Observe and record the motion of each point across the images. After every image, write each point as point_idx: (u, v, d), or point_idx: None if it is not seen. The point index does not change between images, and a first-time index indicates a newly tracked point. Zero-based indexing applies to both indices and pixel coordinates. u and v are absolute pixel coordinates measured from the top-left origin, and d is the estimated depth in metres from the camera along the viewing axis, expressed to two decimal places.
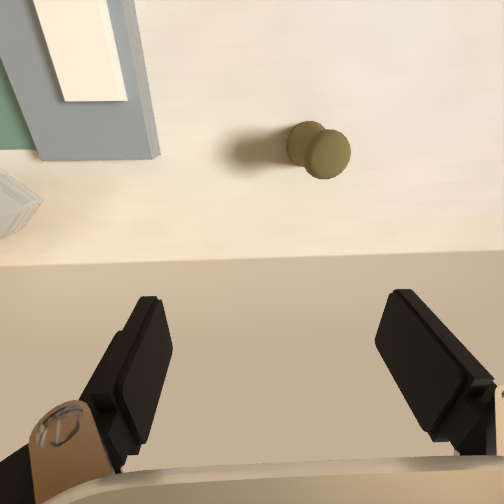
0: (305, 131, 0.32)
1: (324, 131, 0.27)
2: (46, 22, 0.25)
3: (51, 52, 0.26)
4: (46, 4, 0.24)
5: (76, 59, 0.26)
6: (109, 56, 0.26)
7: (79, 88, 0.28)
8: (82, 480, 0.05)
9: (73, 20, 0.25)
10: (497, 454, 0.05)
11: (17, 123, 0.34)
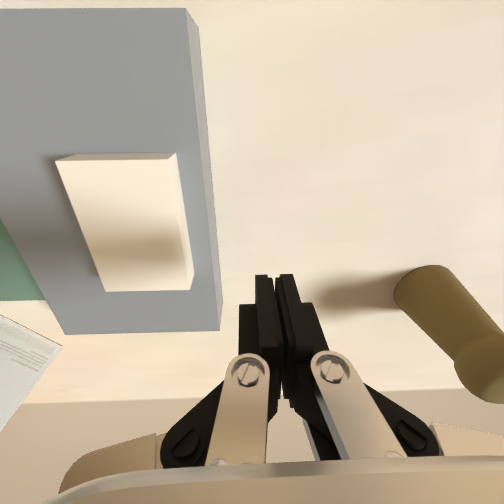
0: (442, 300, 0.22)
1: None
2: (82, 204, 0.15)
3: (88, 239, 0.16)
4: (83, 182, 0.14)
5: (126, 246, 0.17)
6: (179, 242, 0.16)
7: (128, 277, 0.18)
8: (245, 429, 0.06)
9: (126, 201, 0.15)
10: (341, 439, 0.06)
11: (30, 273, 0.24)
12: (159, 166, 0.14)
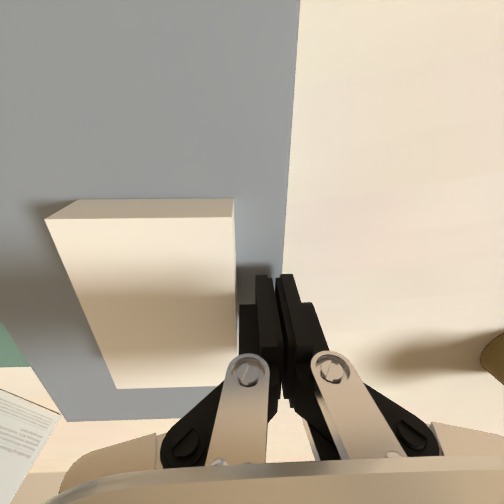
0: None
1: None
2: (88, 281, 0.09)
3: (94, 326, 0.11)
4: (90, 250, 0.09)
5: (152, 335, 0.11)
6: (233, 329, 0.11)
7: (151, 372, 0.12)
8: (245, 429, 0.06)
9: (158, 276, 0.09)
10: (341, 439, 0.06)
11: None
12: (217, 227, 0.09)
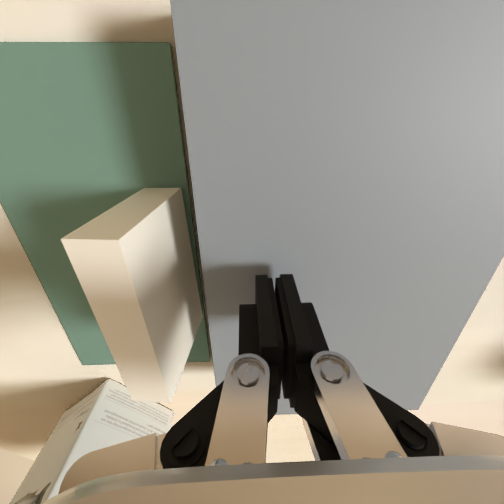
0: None
1: None
2: None
3: None
4: None
5: None
6: None
7: None
8: (245, 429, 0.06)
9: None
10: (341, 439, 0.06)
11: None
12: None
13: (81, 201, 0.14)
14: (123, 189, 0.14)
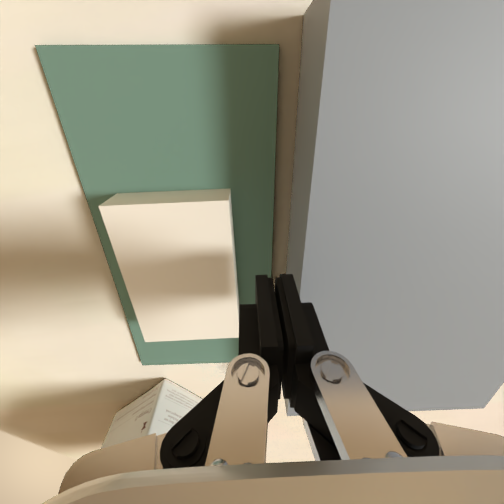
0: None
1: None
2: None
3: None
4: None
5: None
6: None
7: None
8: (245, 429, 0.06)
9: None
10: (341, 439, 0.06)
11: None
12: None
13: None
14: None
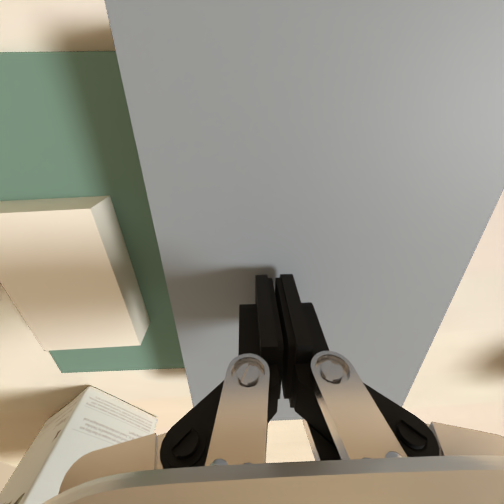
0: None
1: None
2: None
3: None
4: None
5: None
6: None
7: None
8: (245, 429, 0.06)
9: None
10: (341, 439, 0.06)
11: (144, 340, 0.19)
12: None
13: None
14: None
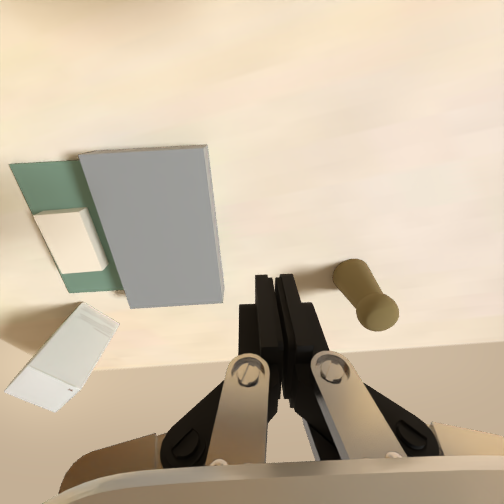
0: (353, 278, 0.38)
1: (377, 300, 0.33)
2: None
3: (97, 238, 0.37)
4: None
5: None
6: None
7: None
8: (245, 429, 0.06)
9: None
10: (341, 439, 0.06)
11: (107, 273, 0.40)
12: None
13: None
14: (79, 207, 0.35)
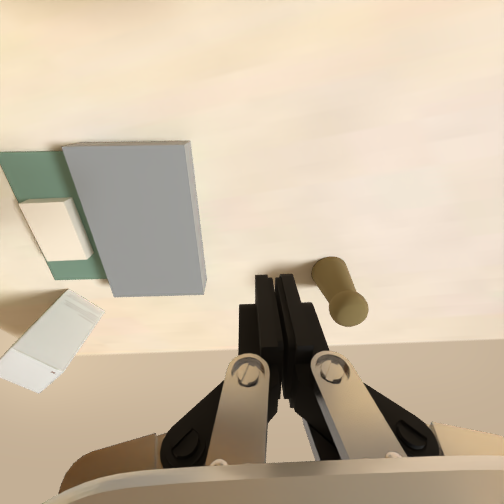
0: (329, 275, 0.40)
1: (348, 297, 0.34)
2: None
3: (83, 228, 0.38)
4: None
5: None
6: None
7: None
8: (245, 429, 0.06)
9: None
10: (341, 439, 0.06)
11: (92, 262, 0.41)
12: None
13: None
14: (64, 197, 0.36)
